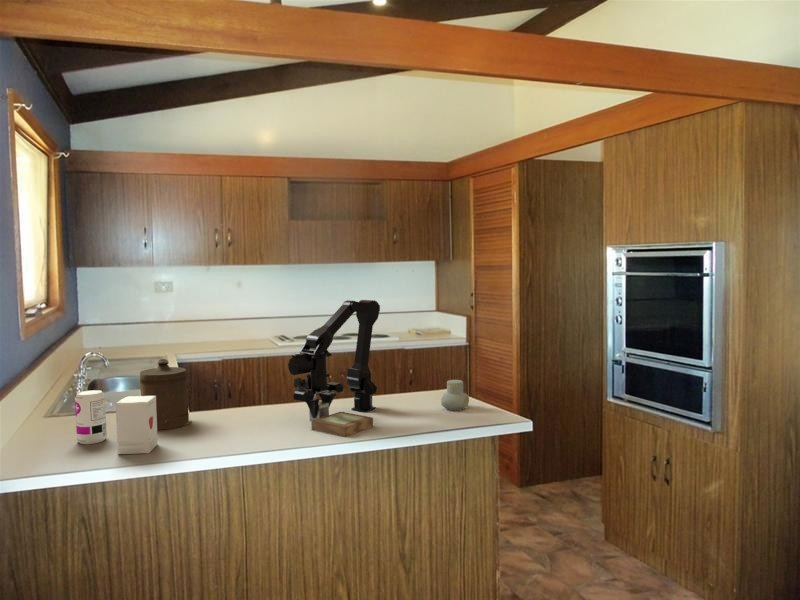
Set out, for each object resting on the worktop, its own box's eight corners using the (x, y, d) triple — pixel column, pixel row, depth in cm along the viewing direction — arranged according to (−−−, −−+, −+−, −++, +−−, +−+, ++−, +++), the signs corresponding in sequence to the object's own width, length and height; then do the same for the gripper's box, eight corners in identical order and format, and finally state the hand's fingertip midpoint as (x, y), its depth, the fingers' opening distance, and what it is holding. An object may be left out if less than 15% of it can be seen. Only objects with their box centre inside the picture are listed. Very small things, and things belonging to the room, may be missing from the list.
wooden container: (166, 416, 223) (163, 354, 222) (198, 421, 217) (195, 357, 215) (131, 427, 210) (128, 361, 208) (164, 432, 203) (161, 364, 202)
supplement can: (76, 446, 190) (73, 396, 189) (78, 439, 197) (75, 391, 196) (106, 442, 193) (104, 393, 192) (107, 435, 200) (104, 388, 199)
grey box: (319, 417, 219) (318, 400, 218) (329, 419, 216) (328, 402, 216) (309, 420, 215) (309, 403, 215) (319, 422, 212) (319, 405, 212)
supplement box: (149, 453, 182) (147, 402, 180) (116, 455, 181) (114, 403, 180) (158, 444, 191) (156, 395, 190) (127, 445, 190) (125, 395, 189)
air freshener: (448, 404, 236) (448, 377, 235) (470, 406, 233) (470, 379, 232) (439, 411, 226) (439, 383, 225) (462, 413, 223) (462, 385, 222)
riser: (340, 420, 215) (340, 410, 215) (373, 426, 207) (372, 416, 207) (311, 429, 204) (311, 420, 204) (344, 436, 196) (344, 426, 196)
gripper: (319, 364, 227) (320, 407, 228) (280, 372, 212) (282, 419, 213) (343, 367, 220) (344, 412, 221) (305, 376, 205) (306, 424, 206)
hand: (319, 416), depth 216 cm, fingers closed on grey box, 5 cm apart
